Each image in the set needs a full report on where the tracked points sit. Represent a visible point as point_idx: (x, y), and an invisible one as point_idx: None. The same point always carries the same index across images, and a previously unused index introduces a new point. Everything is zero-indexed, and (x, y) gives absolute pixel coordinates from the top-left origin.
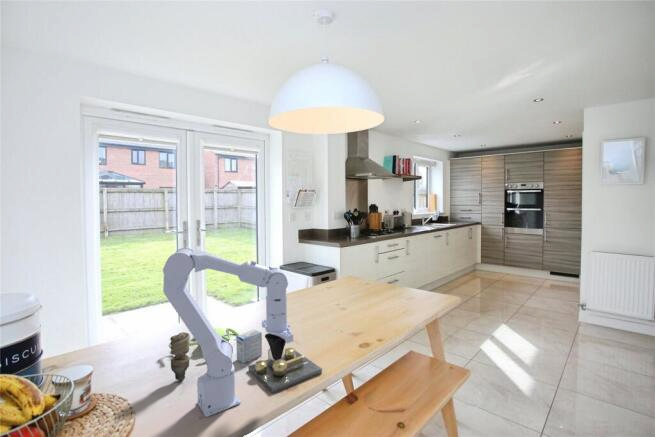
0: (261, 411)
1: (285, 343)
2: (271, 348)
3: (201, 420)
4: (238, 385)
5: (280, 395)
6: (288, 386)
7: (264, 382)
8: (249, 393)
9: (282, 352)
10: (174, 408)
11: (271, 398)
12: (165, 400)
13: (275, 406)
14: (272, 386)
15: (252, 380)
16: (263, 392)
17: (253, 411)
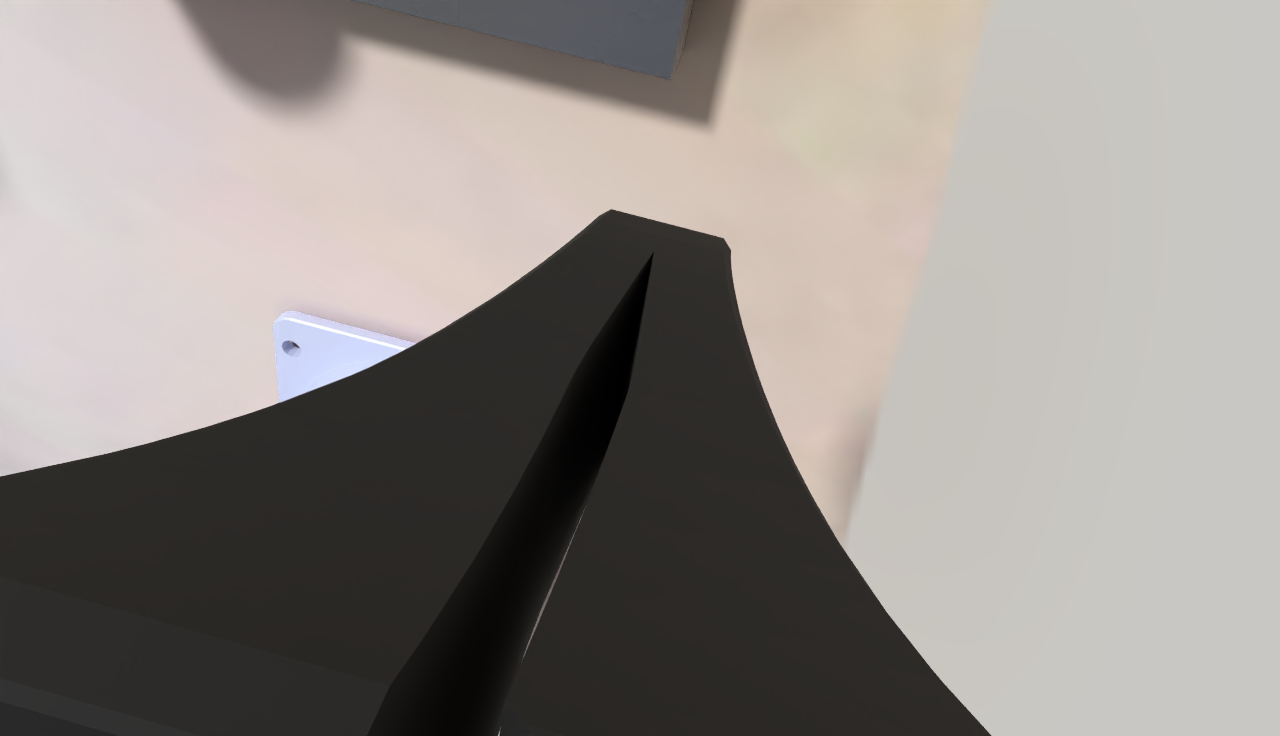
0: (846, 352)
1: (844, 554)
2: (524, 639)
3: (536, 622)
4: (239, 192)
5: (812, 8)
6: None
7: (436, 14)
8: (470, 220)
9: (738, 322)
10: None
11: (759, 133)
12: None
13: (924, 214)
14: (634, 43)
15: (225, 9)
16: (573, 107)
17: (775, 390)
